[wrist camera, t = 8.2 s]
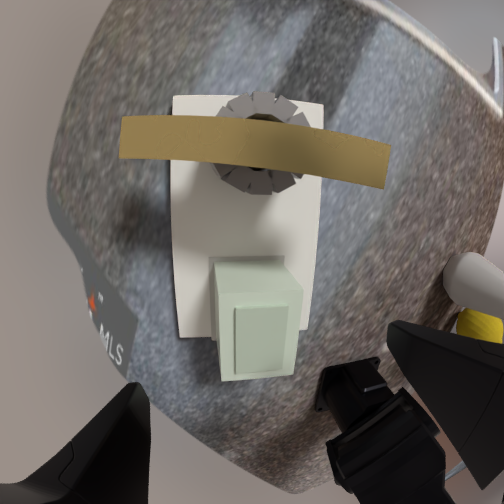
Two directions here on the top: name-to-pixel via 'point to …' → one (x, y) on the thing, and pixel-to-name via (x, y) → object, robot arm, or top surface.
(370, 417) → the robot arm
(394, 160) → the top surface
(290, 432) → the top surface
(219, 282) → the pale green block
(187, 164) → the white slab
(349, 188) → the top surface
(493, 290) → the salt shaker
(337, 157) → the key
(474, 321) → the lemon
